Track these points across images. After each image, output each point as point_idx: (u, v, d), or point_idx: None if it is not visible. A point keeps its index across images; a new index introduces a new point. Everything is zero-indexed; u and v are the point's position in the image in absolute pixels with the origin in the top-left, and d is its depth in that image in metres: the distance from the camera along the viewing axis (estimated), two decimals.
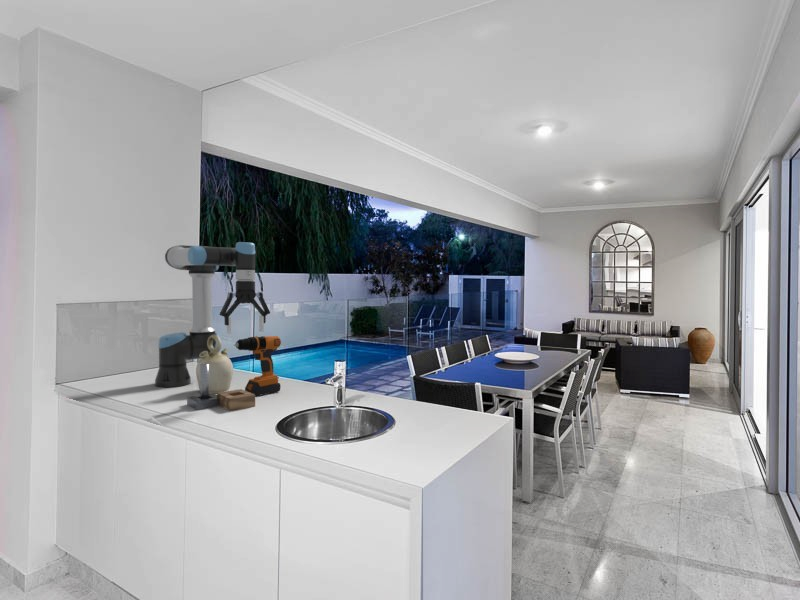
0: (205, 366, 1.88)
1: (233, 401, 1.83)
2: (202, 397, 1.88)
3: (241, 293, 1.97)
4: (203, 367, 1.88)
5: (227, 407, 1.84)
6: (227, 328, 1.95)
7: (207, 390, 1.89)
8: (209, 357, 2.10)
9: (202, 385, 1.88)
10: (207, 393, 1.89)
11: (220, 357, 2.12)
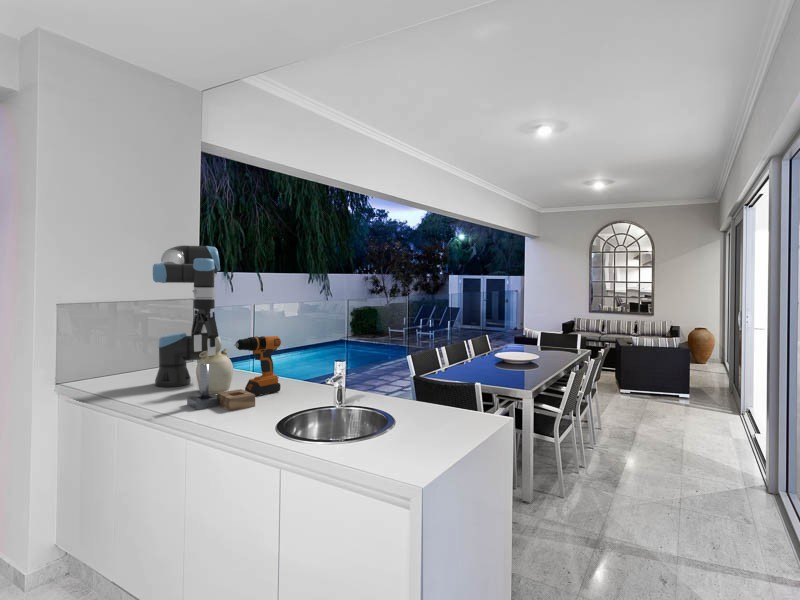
0: (205, 366, 1.88)
1: (233, 401, 1.83)
2: (202, 397, 1.88)
3: (199, 311, 1.89)
4: (203, 367, 1.88)
5: (227, 407, 1.84)
6: None
7: (207, 390, 1.89)
8: (209, 357, 2.10)
9: (202, 385, 1.88)
10: (207, 393, 1.89)
11: (220, 357, 2.12)
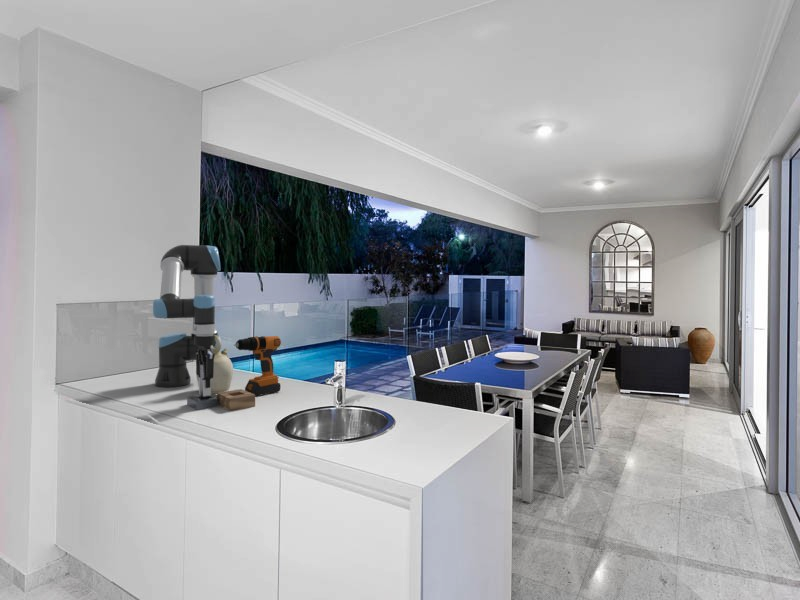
0: None
1: (233, 401, 1.83)
2: (202, 397, 1.88)
3: (199, 346, 1.90)
4: None
5: (227, 407, 1.84)
6: None
7: None
8: None
9: (202, 385, 1.88)
10: None
11: (220, 357, 2.12)
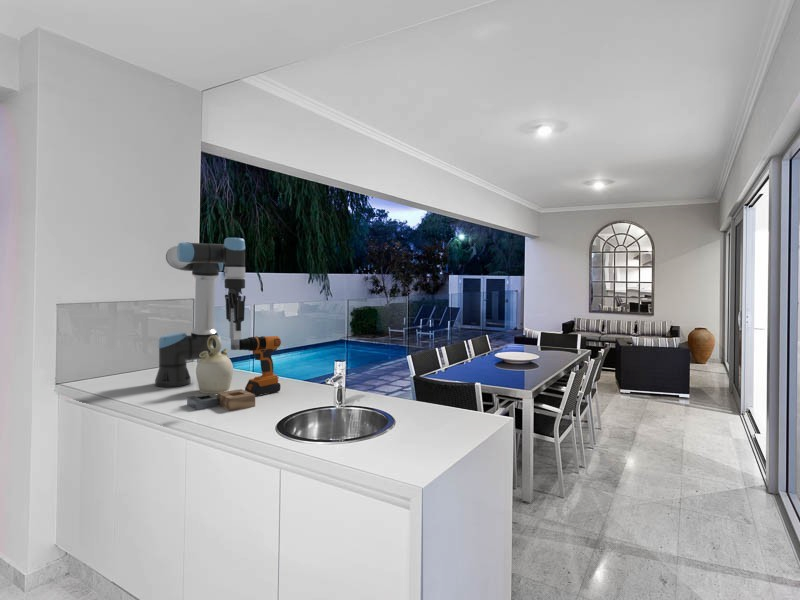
0: None
1: (233, 401, 1.83)
2: (232, 340, 1.87)
3: (229, 290, 1.89)
4: None
5: (227, 407, 1.84)
6: None
7: None
8: (209, 357, 2.10)
9: (232, 329, 1.87)
10: None
11: (220, 357, 2.12)
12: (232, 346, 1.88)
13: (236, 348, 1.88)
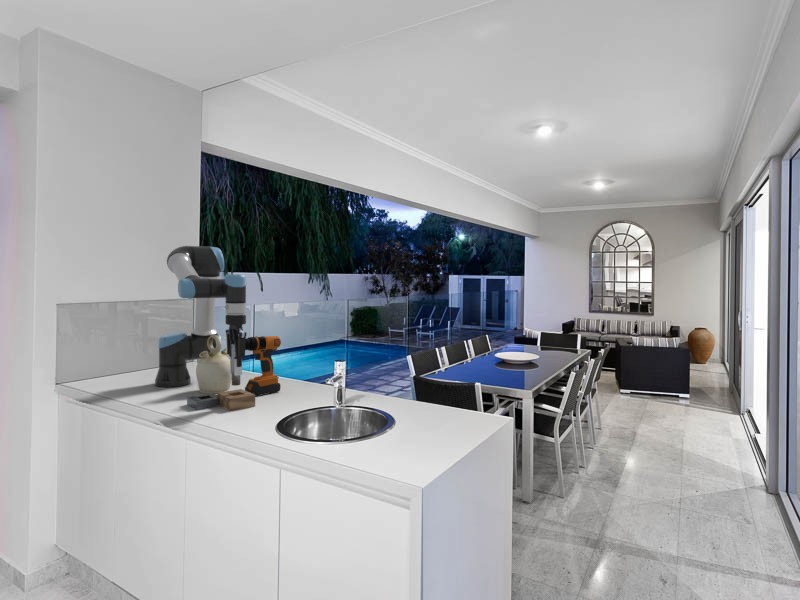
0: None
1: (233, 401, 1.83)
2: (233, 376, 1.88)
3: (230, 326, 1.90)
4: (234, 346, 1.88)
5: (227, 407, 1.84)
6: None
7: None
8: (209, 357, 2.10)
9: (233, 364, 1.88)
10: None
11: (220, 357, 2.12)
12: (233, 382, 1.88)
13: (237, 384, 1.89)
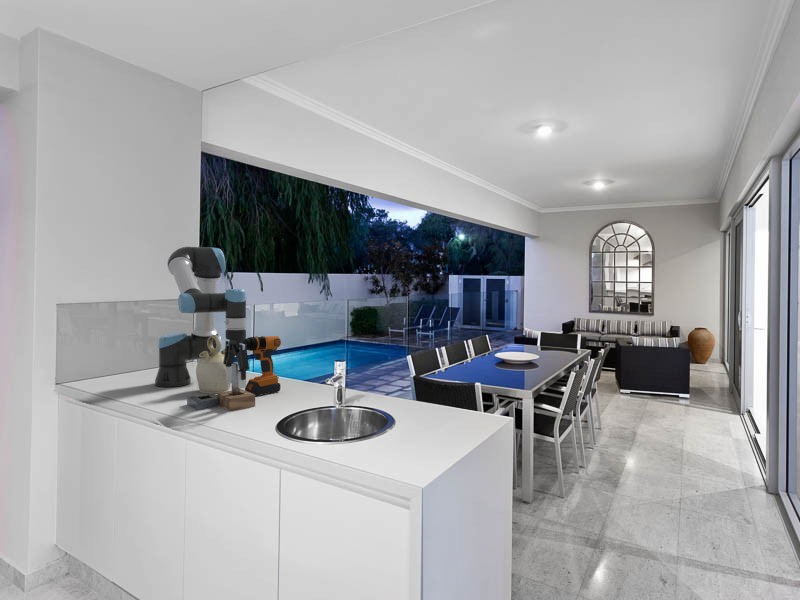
0: (237, 365, 1.88)
1: (233, 401, 1.83)
2: None
3: (230, 341, 1.90)
4: (235, 366, 1.88)
5: (227, 407, 1.84)
6: None
7: (238, 389, 1.89)
8: (209, 357, 2.10)
9: (233, 384, 1.88)
10: (238, 392, 1.89)
11: (220, 357, 2.12)
12: None
13: None
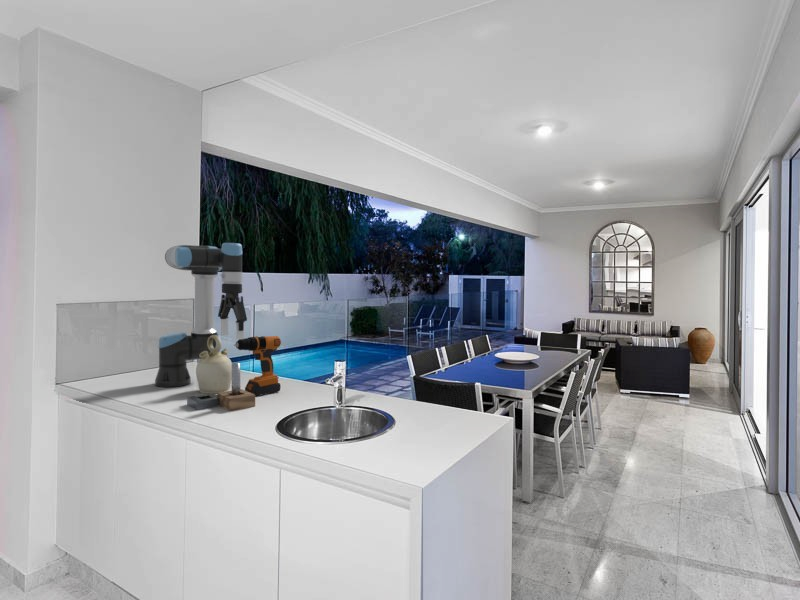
0: (236, 365, 1.88)
1: (233, 401, 1.83)
2: None
3: (226, 296, 1.90)
4: (234, 366, 1.88)
5: (227, 407, 1.84)
6: None
7: (238, 389, 1.89)
8: (209, 357, 2.10)
9: (233, 384, 1.88)
10: (238, 392, 1.89)
11: (220, 357, 2.12)
12: None
13: None
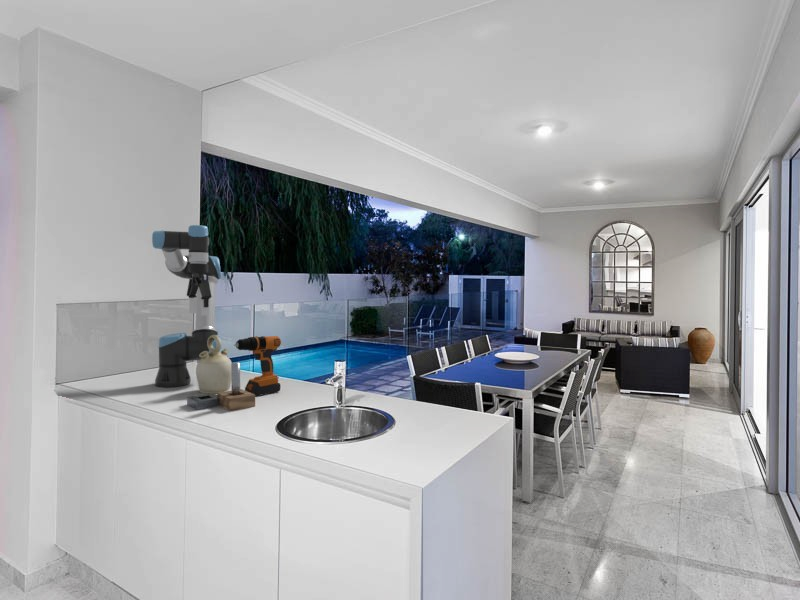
0: (236, 365, 1.89)
1: (233, 401, 1.83)
2: (233, 395, 1.89)
3: (193, 275, 2.03)
4: (234, 366, 1.88)
5: (227, 407, 1.84)
6: None
7: (238, 389, 1.89)
8: (209, 357, 2.10)
9: (233, 384, 1.89)
10: (238, 392, 1.89)
11: (220, 357, 2.12)
12: None
13: None
